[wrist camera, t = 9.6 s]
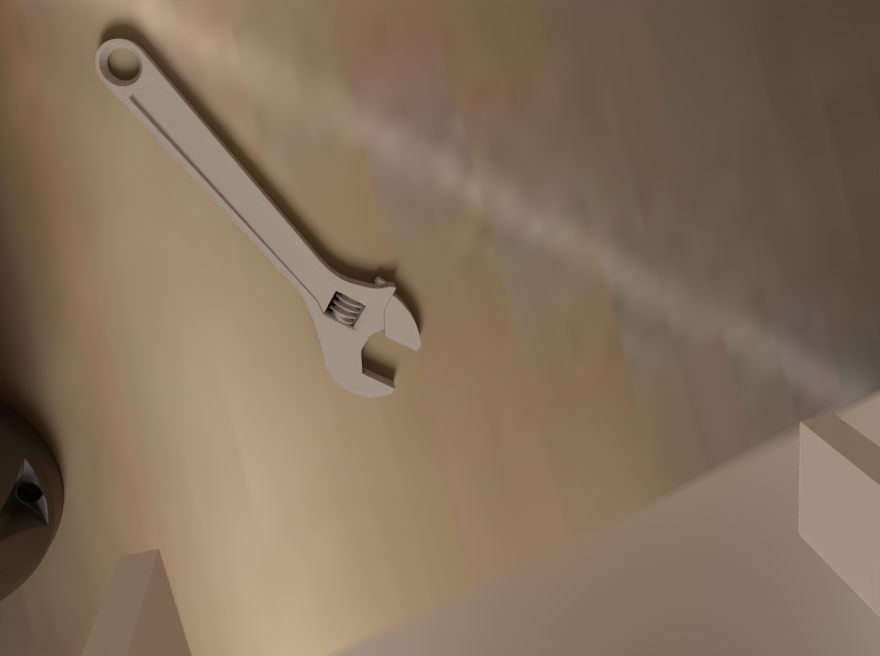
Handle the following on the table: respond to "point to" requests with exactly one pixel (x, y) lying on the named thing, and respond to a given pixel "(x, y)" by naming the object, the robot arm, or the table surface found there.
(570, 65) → the table surface
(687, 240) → the table surface
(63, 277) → the table surface
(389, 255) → the table surface
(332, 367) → the adjustable wrench
